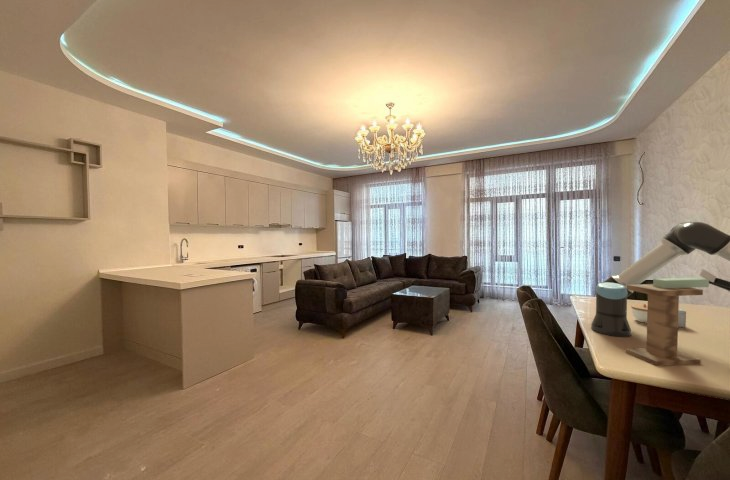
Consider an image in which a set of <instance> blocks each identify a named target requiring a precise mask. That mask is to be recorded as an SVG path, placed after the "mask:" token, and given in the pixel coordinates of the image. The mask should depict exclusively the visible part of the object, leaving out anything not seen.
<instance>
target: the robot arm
mask: <svg viewBox="0 0 730 480" xmlns="http://www.w3.org/2000/svg"><path fill="white" fill-rule="evenodd" d="M660 240H661V242H660V243H659V244H658V245H657V246H655V247H654V248H653V249H651V250H650V251H648V252H647V253H646V254H644V256H642V257H641V258H639V259H638V260H636V261H635V262H634V263H632V264H630V266H629V267H627V268H626V269H624V270H623V271H621V273H619V274H618V275H611V276H610V277H608V278H607V279H606V280H603V281H602V282H599V283H598V284H596V286H595V287H594V288H595V289H594V296H595V300H596V301H595V315H594V317H593V319H592V322H591V325H590V326H591V327H590V329H591V330H593V331H594V332H597V333H600V334H603V335H608V336H612V337H613V336H614V337H620V338H621V337H623V338H624V337H626V338H627V337H630V336H632V330H631V326H630V323H629V321H628V318H627V315H628V314H627V311H628V305H627V304H628V297H630V296H631V295H632V294H633V293H634V291H631V290H627V285H639V284H642V283H643V282H645V281H646V280H647V279H649V278H650V277H651V276H653V275H654V274H656V273H657V272H658V271H660V270H661V269H663V268H664V267H666V266H667V265H668V264H670V263H671V262H674V260H676V259H677V258H679V257H680V256H688V255H689V254H691V253H692V252H694V251H696V250H698V251H702V252H704V253H706V254H709V255H711V256H718V257H721V258H723V259H724V260H726V261H729V262H730V235H729V234H728V233H725V232H723V231H721V230H720V229H718V228H716V227H714V226H712V225H710V224H709V223H705V222H702V221H701V222H700V221H687V222H681V223H679V224H676V225H675V226H673V227H672V228H671V229H670V231H669V232H667V234H665V235H664V236H663V237H661V238H660ZM699 276H700V277H702V278H703V279H709V285H712V286H716V287H718V288H721V289H723V290H727V291H728V292H730V281H729V280H725V279H722V278H718V277H717V276H716V275H714V274H713V273H711V272H709V271H707V270H705V269H702V270H701V272H700V273H699Z"/></svg>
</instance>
